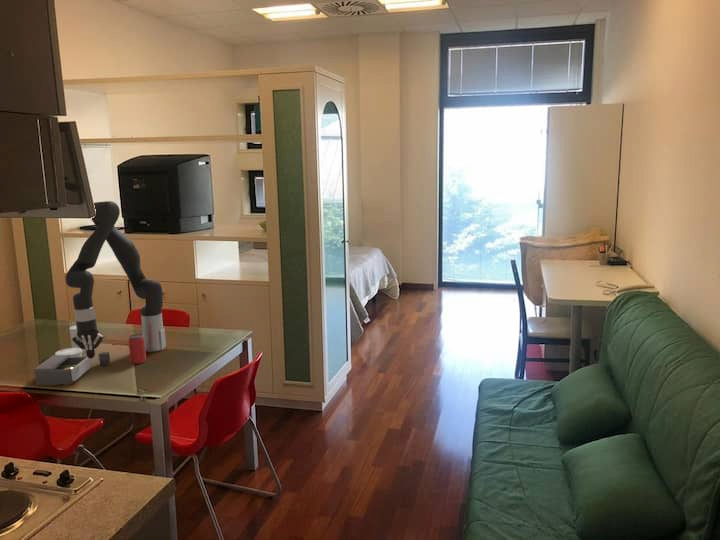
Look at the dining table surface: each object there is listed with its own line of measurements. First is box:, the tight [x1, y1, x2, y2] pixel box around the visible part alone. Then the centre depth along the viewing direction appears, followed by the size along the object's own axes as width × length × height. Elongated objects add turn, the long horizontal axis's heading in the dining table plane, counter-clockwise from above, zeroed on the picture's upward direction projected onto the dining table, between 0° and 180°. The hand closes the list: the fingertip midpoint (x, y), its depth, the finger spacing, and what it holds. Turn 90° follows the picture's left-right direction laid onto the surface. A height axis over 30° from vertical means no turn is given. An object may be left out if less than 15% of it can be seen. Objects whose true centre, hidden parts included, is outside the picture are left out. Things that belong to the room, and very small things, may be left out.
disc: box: [58, 365, 74, 370], centre depth 246 cm, size 6×6×2 cm
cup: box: [68, 324, 86, 355], centre depth 277 cm, size 8×8×12 cm
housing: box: [33, 354, 87, 386], centre depth 246 cm, size 14×16×7 cm
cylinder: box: [97, 351, 111, 367], centre depth 260 cm, size 4×4×5 cm
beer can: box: [128, 333, 147, 365], centre depth 262 cm, size 7×7×12 cm
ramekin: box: [54, 347, 83, 357], centre depth 264 cm, size 11×11×5 cm
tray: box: [54, 356, 92, 382], centre depth 246 cm, size 14×16×5 cm
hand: (91, 357), depth 246 cm, fingers closed
